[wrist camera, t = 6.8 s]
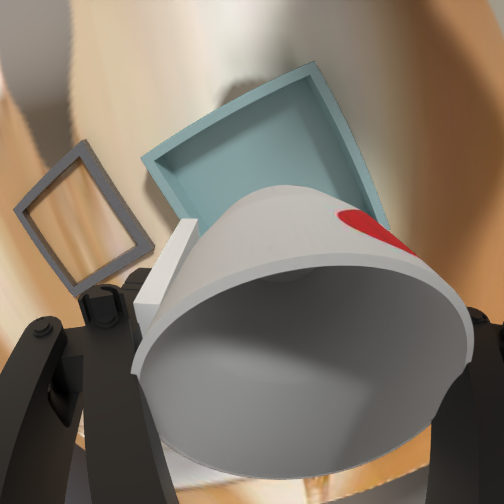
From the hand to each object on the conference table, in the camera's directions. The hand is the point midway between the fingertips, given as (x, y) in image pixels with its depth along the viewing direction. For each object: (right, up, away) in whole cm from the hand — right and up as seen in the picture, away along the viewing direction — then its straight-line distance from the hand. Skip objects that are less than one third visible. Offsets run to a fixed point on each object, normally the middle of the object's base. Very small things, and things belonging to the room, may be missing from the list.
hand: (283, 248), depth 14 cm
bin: (0, +6, +12) cm, 13 cm away
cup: (0, +1, +1) cm, 1 cm away
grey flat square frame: (-19, +3, +13) cm, 23 cm away
